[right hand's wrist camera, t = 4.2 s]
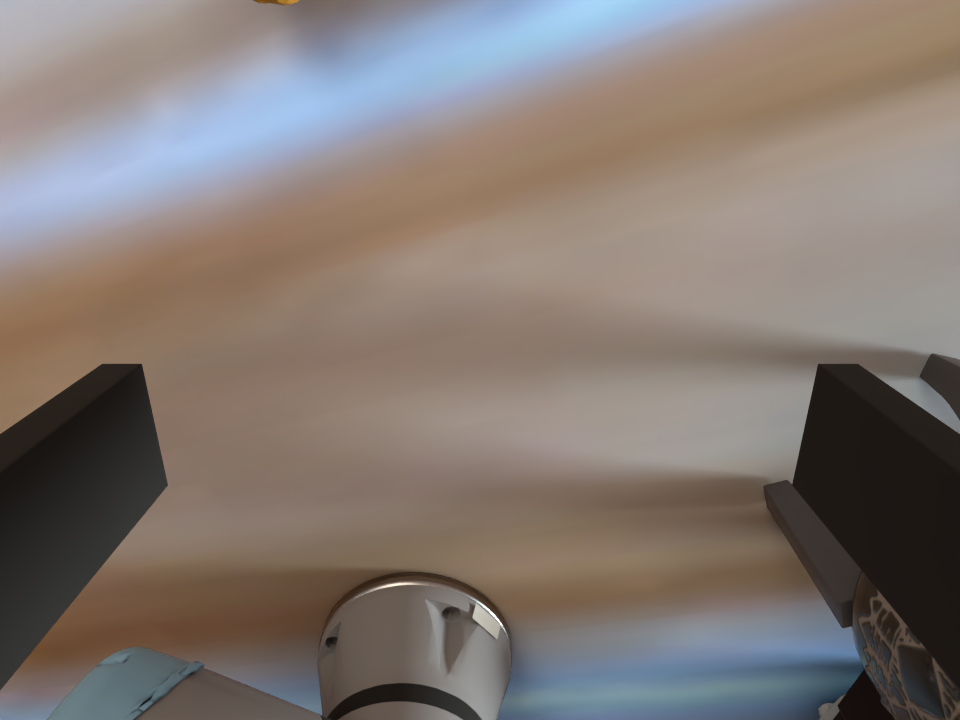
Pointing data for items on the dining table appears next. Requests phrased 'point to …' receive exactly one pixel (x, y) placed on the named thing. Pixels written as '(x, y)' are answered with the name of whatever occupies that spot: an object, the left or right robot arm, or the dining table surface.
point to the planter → (873, 593)
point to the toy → (278, 1)
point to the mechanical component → (857, 703)
